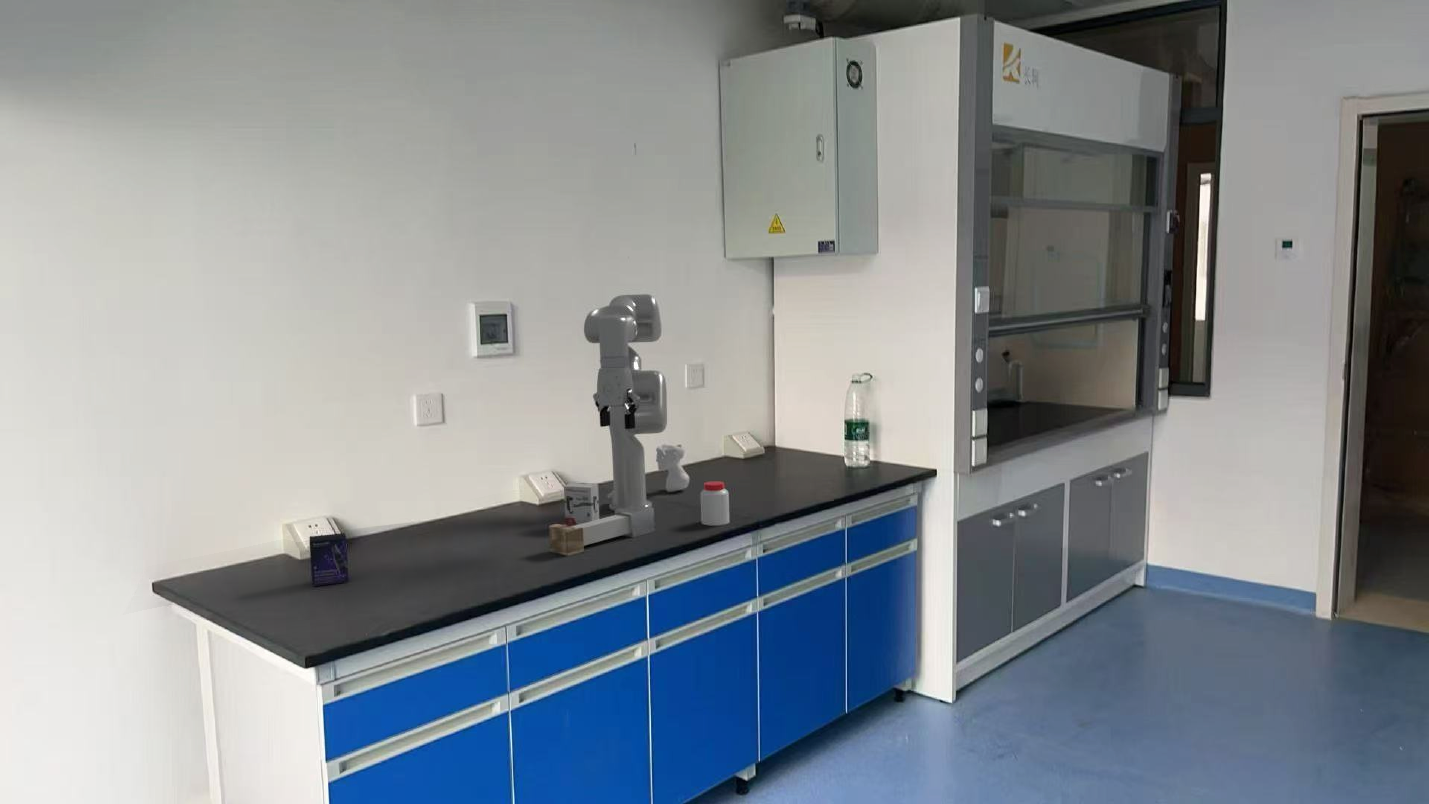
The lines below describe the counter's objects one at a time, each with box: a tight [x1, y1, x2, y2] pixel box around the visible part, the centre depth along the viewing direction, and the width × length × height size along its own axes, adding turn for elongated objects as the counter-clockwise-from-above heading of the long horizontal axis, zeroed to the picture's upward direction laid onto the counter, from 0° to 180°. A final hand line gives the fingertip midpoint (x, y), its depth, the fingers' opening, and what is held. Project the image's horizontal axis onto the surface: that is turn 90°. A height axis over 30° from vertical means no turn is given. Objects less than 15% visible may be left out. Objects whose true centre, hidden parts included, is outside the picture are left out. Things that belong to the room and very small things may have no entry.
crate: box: [548, 523, 585, 557], centre depth 251 cm, size 7×5×7 cm
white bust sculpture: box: [655, 443, 690, 493], centre depth 321 cm, size 10×11×15 cm
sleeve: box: [614, 505, 656, 538], centre depth 269 cm, size 7×8×6 cm
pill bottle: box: [699, 480, 730, 527], centre depth 277 cm, size 8×8×11 cm
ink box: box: [563, 481, 600, 527], centre depth 278 cm, size 9×5×12 cm, turn 70°
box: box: [308, 532, 350, 588], centre depth 231 cm, size 8×6×11 cm
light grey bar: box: [571, 514, 631, 546], centre depth 259 cm, size 4×22×5 cm, turn 138°
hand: (617, 427), depth 268 cm, fingers open, 9 cm apart
